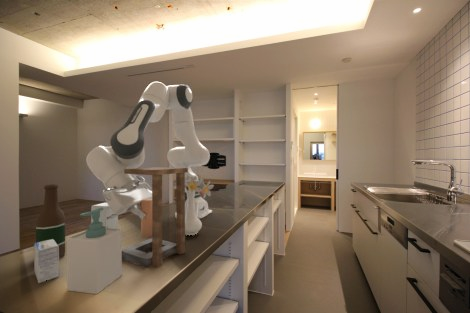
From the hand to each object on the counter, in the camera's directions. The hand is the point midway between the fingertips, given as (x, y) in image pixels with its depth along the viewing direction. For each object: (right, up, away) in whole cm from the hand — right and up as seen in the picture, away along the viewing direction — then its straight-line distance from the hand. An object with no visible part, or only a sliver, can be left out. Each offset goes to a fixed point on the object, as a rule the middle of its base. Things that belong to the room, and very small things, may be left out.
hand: (149, 214), depth 73 cm
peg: (-1, -7, 0) cm, 7 cm away
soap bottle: (-7, -13, -16) cm, 23 cm away
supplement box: (-28, -14, +21) cm, 38 cm away
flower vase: (+11, -14, +20) cm, 27 cm away
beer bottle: (-31, -14, -2) cm, 34 cm away
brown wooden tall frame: (+2, -13, 0) cm, 14 cm away
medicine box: (-24, -14, -13) cm, 30 cm away
